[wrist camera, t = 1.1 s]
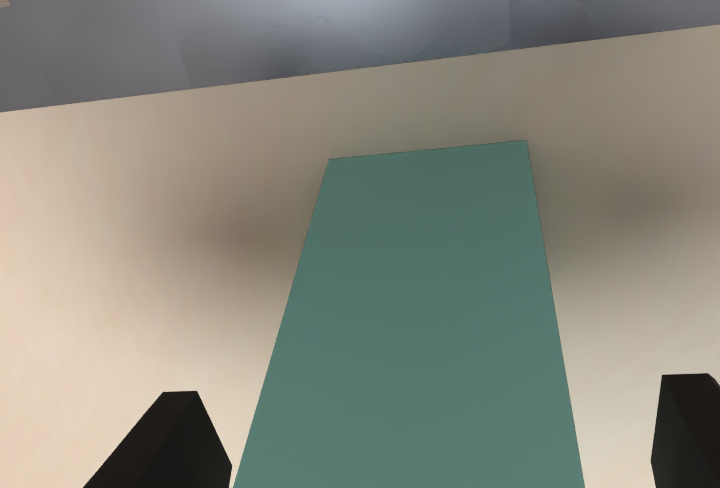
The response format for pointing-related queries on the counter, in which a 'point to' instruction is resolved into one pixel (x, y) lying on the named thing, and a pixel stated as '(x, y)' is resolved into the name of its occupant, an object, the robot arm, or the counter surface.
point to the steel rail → (282, 38)
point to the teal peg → (419, 334)
